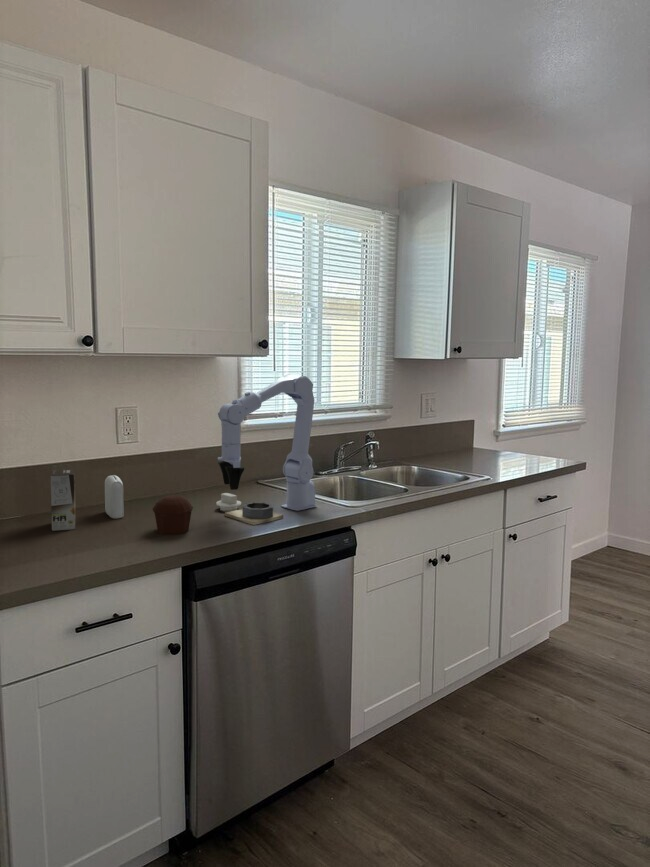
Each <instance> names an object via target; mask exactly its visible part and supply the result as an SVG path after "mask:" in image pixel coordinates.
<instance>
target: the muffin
mask: <svg viewBox="0 0 650 867" xmlns="http://www.w3.org/2000/svg"><path fill="white" fill-rule="evenodd" d="M193 508H194V506H192V504H191V503H190V502H189V501H188V499H187V498H185V497H184V496H182V495H179V494H170V495H165V496H163V497H161V498H160V499H159V500H157V502H156V503H155V505H154V506H153V507H152V510H153V512H154V517H155V523H156V529H157V533H158V534H162V535H164V536H165V535H167V536H169V535H172V536H173V535H174V536H175V535H181V534H182V535H183V534H185V533H186V532H189V530H190V524H191V518H192V517H191V516H192V511H193Z"/></svg>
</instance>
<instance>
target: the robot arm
mask: <svg viewBox="0 0 650 867" xmlns="http://www.w3.org/2000/svg"><path fill="white" fill-rule="evenodd" d="M313 388H314V383H313V381H311V380H310V378H309V377H308V376H306V375H292V374H284V375H283V376H281V377H279V378H277V379H276V380H275V381H273V382H271V383H270V384H269V385H267V386H266V387H264V388H262V389H261V390H259V391H258V392H254V391H246V392H244V395H242V396H241V397H238V398H237V399H236V398H235V399H232V401H231V403H224V404H223V405H222V406H221V407H220V409H219V412H217V417H218V419H219V420H220V423H221V456H218V457H217V460H218V462H217V464H218V466H219V468H220V470H221V474H222V480H223V484H224V485H229V488H230V490H231V491H233V490H238V489H239V486H240V482H241V477H242V474H243V473H244V471H245V469H246V468H245V466H241V461H242V457H241V448H242V447H241V445H242V444H241V437H242V436H241V435H242V434H241V432H242V431H241V430H242V429H241V428H242V427H241V424H242V422H243V421H244V419H245V418H246V417H247V416H248V415H250V414H252V413H254V412H255V411H258V410H259V409H260V408H261V407H262V403H264V402H266V401H268V400H270V399H272V398H274V397H276V396H278V395H280V394H282V393H283V394H285V395H287V396H288V397H290V398H291V399H292V400H293V401H294V403H296V412H295V413H296V414H295V420H294V421H295V422H294V428H293V429H294V430H293V436H292V445H291V446H292V447H291V451H290V452H289V453H288V454H287V455H286V459H285V462H284V464H283V465H282V472H283V475H284V476H285V477H286V478H285V480H286V503H285V504H281V505H280V507H281V508H286V509H287V510H288V509H289V510H293V511H296V512H298V511H303V510H307V509H313V508H316V507H317V506H318V505H317V504H316V485H315V483H314V481H312V478H313V476H314V468H313V459H312V456H310V454H309V447H310V440H311V431H312V423H313V415H314V408H315V397H314V396H315V395H314V392H313Z"/></svg>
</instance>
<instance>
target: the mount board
mask: <svg viewBox="0 0 650 867" xmlns="http://www.w3.org/2000/svg"><path fill="white" fill-rule="evenodd" d="M224 516H225V517H228V518H231V519H233V520H236V521H240V522H243V523H246V524H249V525H252V526H255V525H259V524H265V523H268V522H273V521H277V520H282V519H284V514H281V513H277V512H274V511H273V517H271V518H266V519H249V518H246V517H243V508H241V509H237V510H236V511H231V512H224Z"/></svg>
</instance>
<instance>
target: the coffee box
mask: <svg viewBox="0 0 650 867" xmlns="http://www.w3.org/2000/svg"><path fill="white" fill-rule="evenodd" d="M49 476H50V478H49V479H50V507H51V508H50V512H51V531H54V532H55V531H66V530H67V531H68V530H69V531H70V530H75V528H76V486H75V485H76V479H75V468H58V469H51V471H50V475H49Z"/></svg>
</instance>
